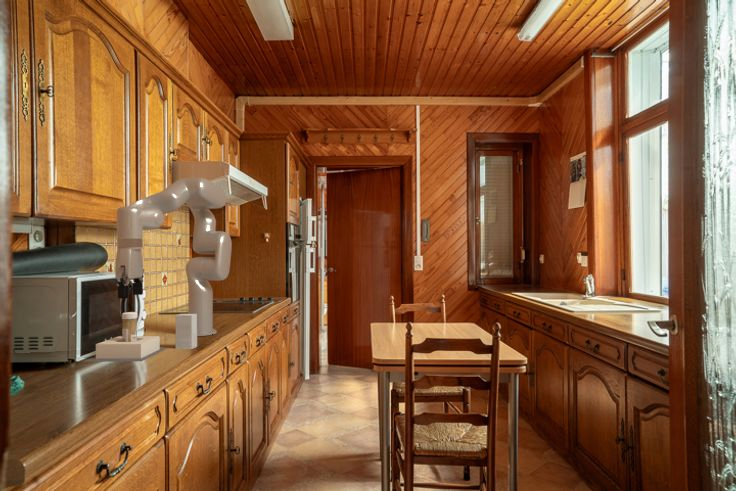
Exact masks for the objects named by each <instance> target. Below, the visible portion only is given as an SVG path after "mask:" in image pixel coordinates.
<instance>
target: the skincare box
mask: <svg viewBox="0 0 736 491" xmlns="http://www.w3.org/2000/svg"><path fill="white" fill-rule="evenodd" d="M197 347H198V336H197V314H188V313H179V314H175V349H176V350H178V349H179V350H192V349H196V348H197Z"/></svg>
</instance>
